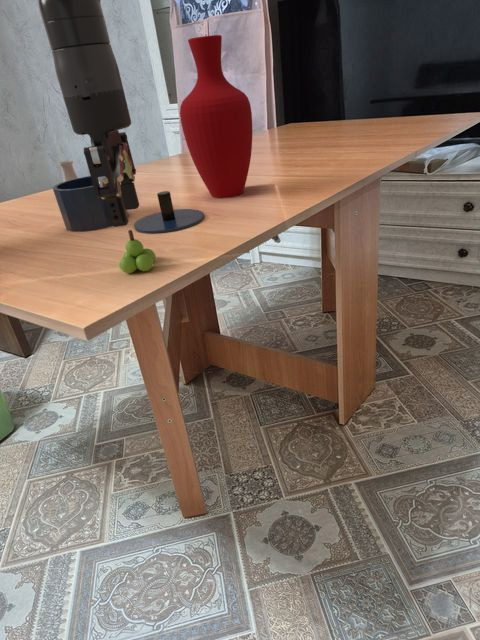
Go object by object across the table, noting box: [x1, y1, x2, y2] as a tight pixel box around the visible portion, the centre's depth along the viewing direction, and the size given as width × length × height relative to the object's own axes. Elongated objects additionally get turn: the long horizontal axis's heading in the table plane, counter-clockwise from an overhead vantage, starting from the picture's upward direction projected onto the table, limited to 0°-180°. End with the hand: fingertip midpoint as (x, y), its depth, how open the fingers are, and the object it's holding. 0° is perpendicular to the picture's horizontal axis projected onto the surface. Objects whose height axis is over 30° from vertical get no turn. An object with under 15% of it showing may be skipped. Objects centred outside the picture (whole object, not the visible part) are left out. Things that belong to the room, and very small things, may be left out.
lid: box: [133, 190, 205, 234], centre depth 89 cm, size 14×14×6 cm
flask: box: [57, 160, 79, 182], centre depth 111 cm, size 7×7×10 cm
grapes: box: [119, 229, 156, 274], centre depth 70 cm, size 5×5×6 cm
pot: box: [52, 175, 129, 233], centre depth 94 cm, size 13×13×8 cm
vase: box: [179, 34, 253, 199], centre depth 97 cm, size 15×15×30 cm
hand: (126, 216), depth 68 cm, fingers open, 8 cm apart
